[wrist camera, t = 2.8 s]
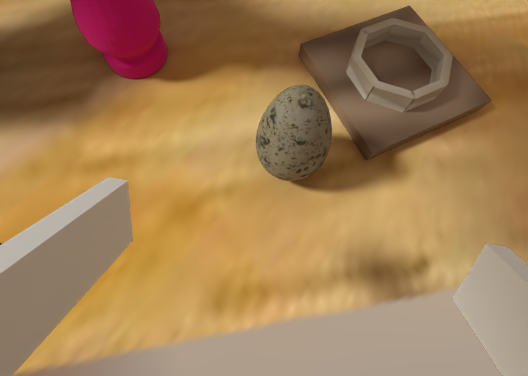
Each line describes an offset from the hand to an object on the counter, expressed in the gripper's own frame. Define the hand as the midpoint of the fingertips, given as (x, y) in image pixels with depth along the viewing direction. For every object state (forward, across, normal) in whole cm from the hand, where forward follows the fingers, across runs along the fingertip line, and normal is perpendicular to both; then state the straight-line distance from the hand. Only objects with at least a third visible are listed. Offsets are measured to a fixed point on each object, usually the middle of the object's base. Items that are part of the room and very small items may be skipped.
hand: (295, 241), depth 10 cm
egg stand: (+24, +9, +5) cm, 26 cm away
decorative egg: (+16, 0, -3) cm, 17 cm away
